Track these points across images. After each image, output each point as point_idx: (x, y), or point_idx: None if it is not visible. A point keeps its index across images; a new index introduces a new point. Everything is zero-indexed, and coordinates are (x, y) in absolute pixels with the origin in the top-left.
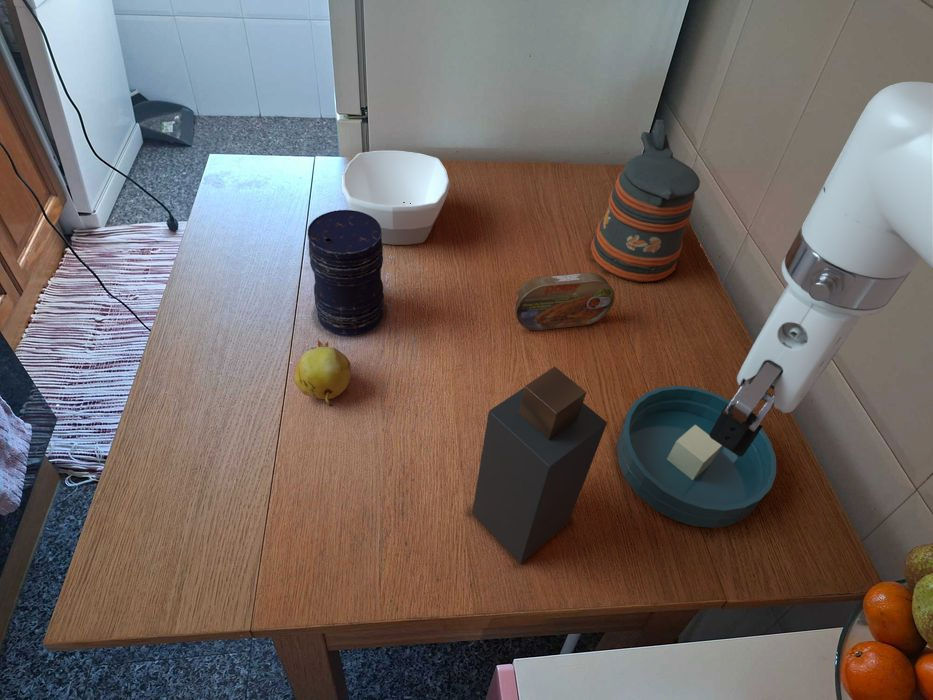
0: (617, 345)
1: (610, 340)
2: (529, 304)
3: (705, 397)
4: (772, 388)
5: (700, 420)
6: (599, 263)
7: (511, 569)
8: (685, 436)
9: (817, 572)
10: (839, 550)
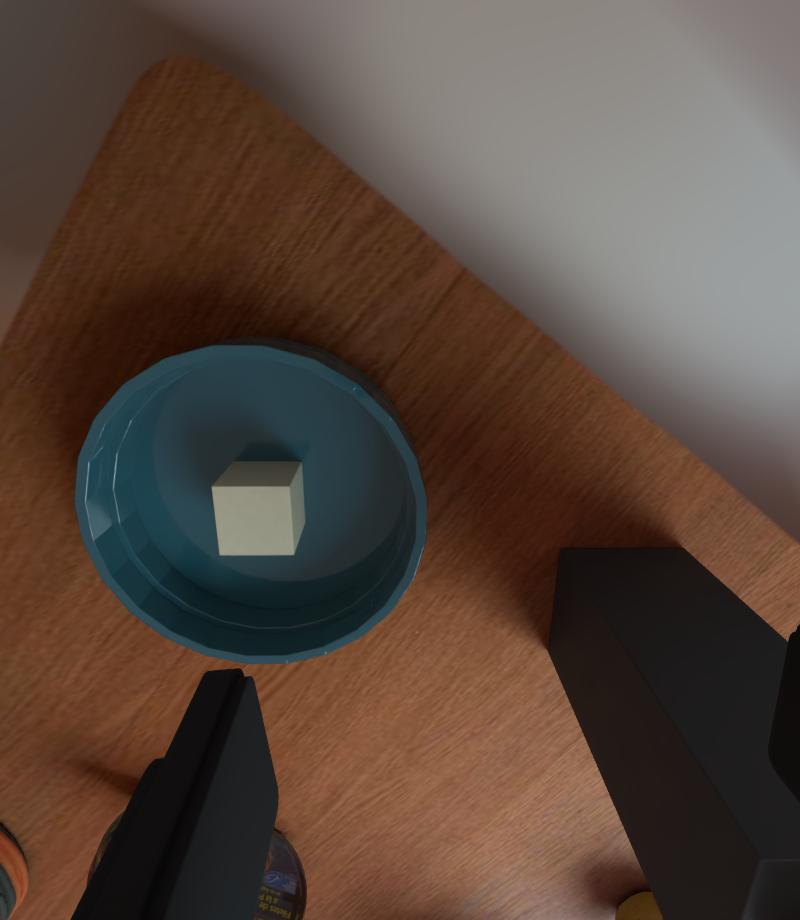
0: (160, 735)
1: (163, 749)
2: (276, 911)
3: (126, 580)
4: (265, 735)
5: (161, 536)
6: (27, 882)
7: (700, 550)
8: (266, 549)
9: (256, 150)
10: (160, 140)
